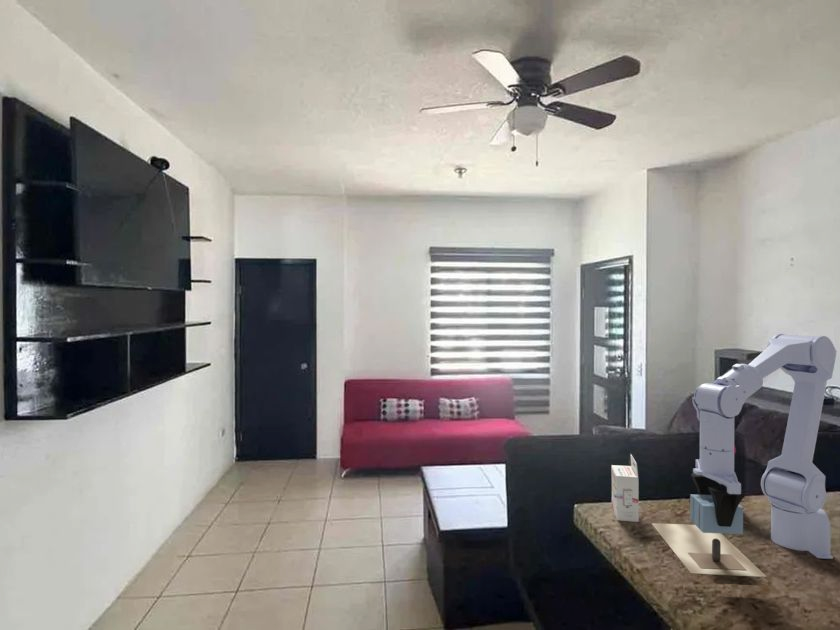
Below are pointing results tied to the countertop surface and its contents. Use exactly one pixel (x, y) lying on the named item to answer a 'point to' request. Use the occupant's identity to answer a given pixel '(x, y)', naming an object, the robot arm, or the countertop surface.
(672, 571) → the countertop surface
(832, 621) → the countertop surface
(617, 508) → the ink cartridge box
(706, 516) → the block
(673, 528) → the base plate
